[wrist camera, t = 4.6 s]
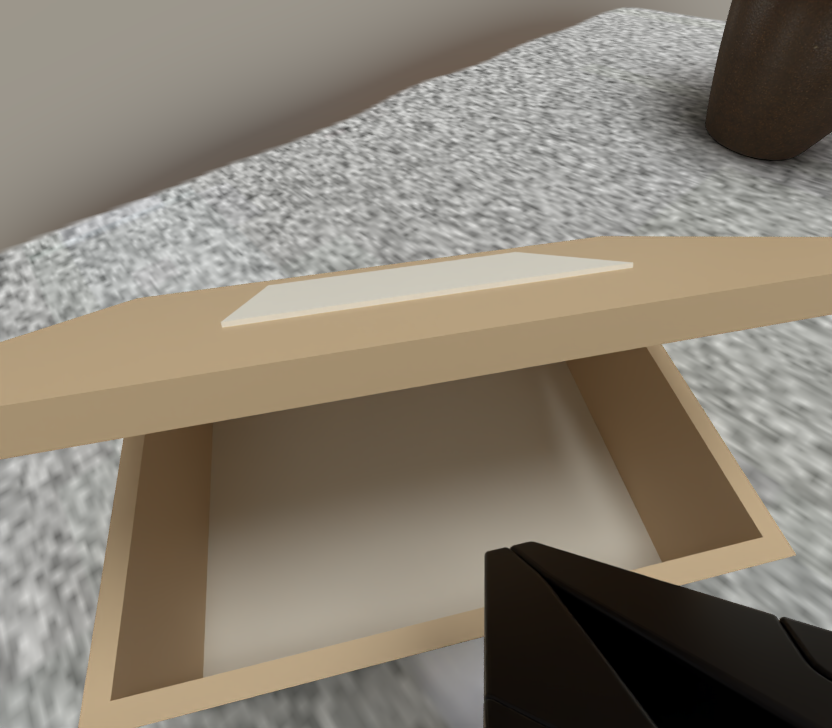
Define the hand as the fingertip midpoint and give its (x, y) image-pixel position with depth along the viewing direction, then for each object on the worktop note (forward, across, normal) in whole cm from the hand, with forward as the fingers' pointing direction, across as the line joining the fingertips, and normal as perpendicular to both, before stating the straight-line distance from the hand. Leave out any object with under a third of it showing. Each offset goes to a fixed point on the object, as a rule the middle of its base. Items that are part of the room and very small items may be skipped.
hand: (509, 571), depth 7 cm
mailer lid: (+5, 0, +4) cm, 7 cm away
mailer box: (+11, 0, -4) cm, 12 cm away
